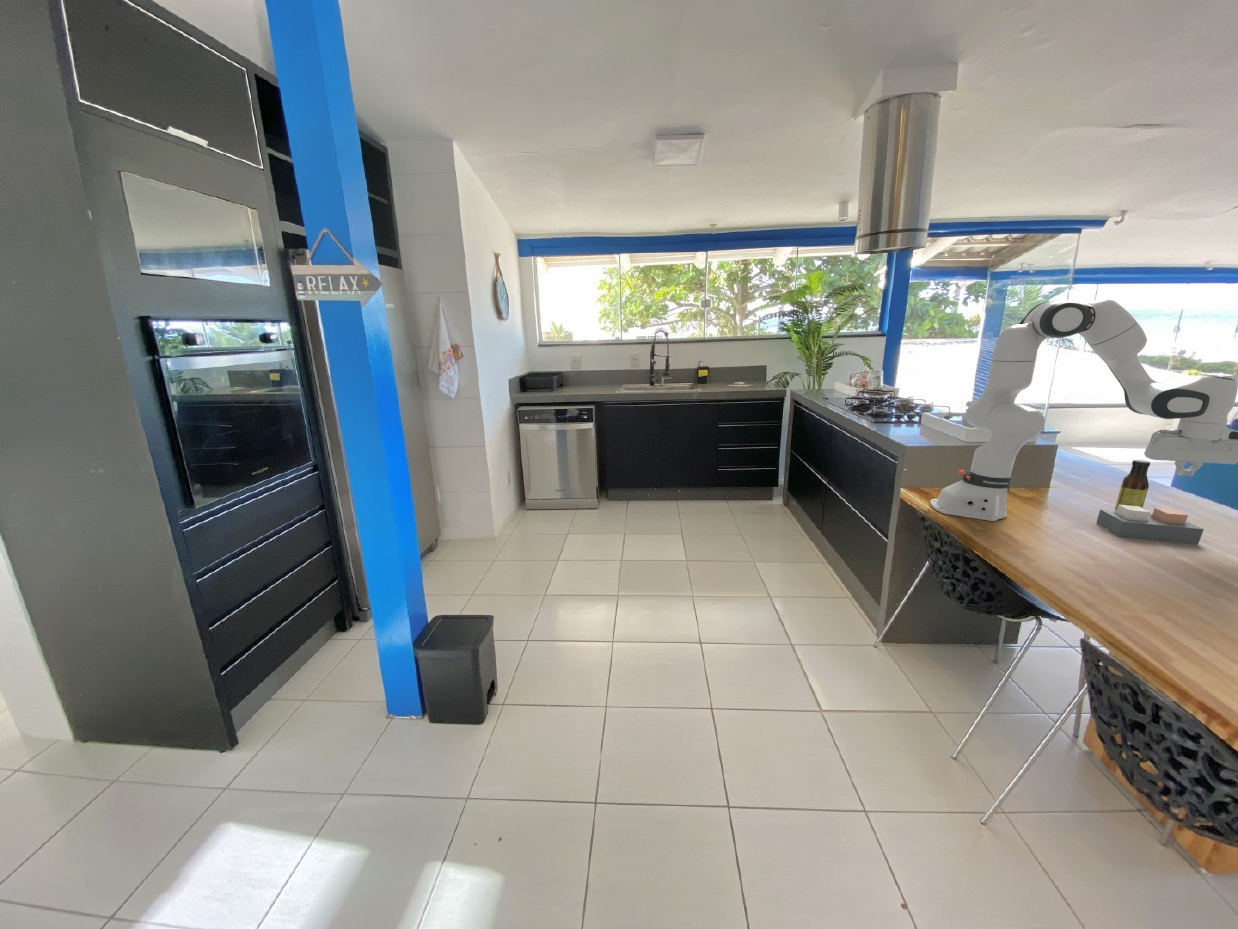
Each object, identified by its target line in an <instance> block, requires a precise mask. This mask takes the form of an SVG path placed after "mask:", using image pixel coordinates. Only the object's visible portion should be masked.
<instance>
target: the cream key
mask: <svg viewBox="0 0 1238 929" xmlns="http://www.w3.org/2000/svg"><path fill="white" fill-rule="evenodd" d="M1116 514H1117V515H1119V516H1120V517H1122V518H1124V519H1127V520H1138V521H1147V520H1148V517H1149V514H1151V511H1149V510H1147V509H1145V508H1141V507H1139V506H1129V505H1118V509H1117V512H1116Z"/></svg>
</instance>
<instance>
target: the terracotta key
mask: <svg viewBox="0 0 1238 929" xmlns="http://www.w3.org/2000/svg"><path fill="white" fill-rule="evenodd" d="M1151 514H1152V518H1154V519H1156V520H1158V521H1160V522H1162V523H1170V524H1181V525H1185V523H1186V521H1187V520H1188V516H1189V515H1188V514H1186V513H1184V512H1182V511H1180V510H1178V509H1173V508H1162V507H1154V508H1153V512H1152V513H1151Z"/></svg>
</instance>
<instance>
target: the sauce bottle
mask: <svg viewBox="0 0 1238 929" xmlns="http://www.w3.org/2000/svg"><path fill="white" fill-rule="evenodd" d="M1150 466H1151V462H1150V461H1148V460H1142V459H1133V460H1132V462H1131V469H1130V470H1129V473H1128V474H1127V475H1126V476H1125V477H1123V479H1122V483H1121V486H1120V490H1119V492H1118V497H1117V500H1116V503H1115V507H1114V510H1116V511H1117V509H1118V505H1129V506H1139V507H1141V508H1143V507H1144V505H1145V501H1146V497H1147V494H1148V491H1149V487H1150V485H1149V480H1148V479H1149V478H1148V470H1149V467H1150ZM1143 509H1144V508H1143Z"/></svg>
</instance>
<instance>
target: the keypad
mask: <svg viewBox="0 0 1238 929" xmlns="http://www.w3.org/2000/svg"><path fill="white" fill-rule="evenodd" d="M1116 512H1117V511H1116V510H1115V509H1103V508H1100V510H1099V512H1098V516H1097V519H1096V522H1097V523H1098V524H1097V523H1096V524H1097V525H1099V526H1100V525H1101V527H1102V528H1104V529H1105V528H1106V529H1105V530H1107V529H1108V530H1107V531H1109V532H1111V533H1112V534H1114V535H1115V534H1116V535H1115V536H1117V537H1120V538H1121V537H1122V538H1130V539H1138V540H1139V539H1141V540H1148V541H1149V540H1150V541H1161V542H1168V543H1170V542H1171V543H1178V544H1179V543H1180V544H1192V545H1199V543H1200V542H1201V537H1202V535H1203V533H1204V530H1205V529H1204V528H1203V527H1200V526H1198V525H1196V524H1193V523H1191V522H1189V521H1187V520H1186V523H1185V525H1181V524H1170V523H1162V522H1160V521H1158V520H1156V519H1154V518H1152V514H1153V513H1150V514H1149V517H1148V520H1147V521H1138V520H1127V519H1124V518H1122V517H1120V516H1119V515H1117V514H1116Z"/></svg>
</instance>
